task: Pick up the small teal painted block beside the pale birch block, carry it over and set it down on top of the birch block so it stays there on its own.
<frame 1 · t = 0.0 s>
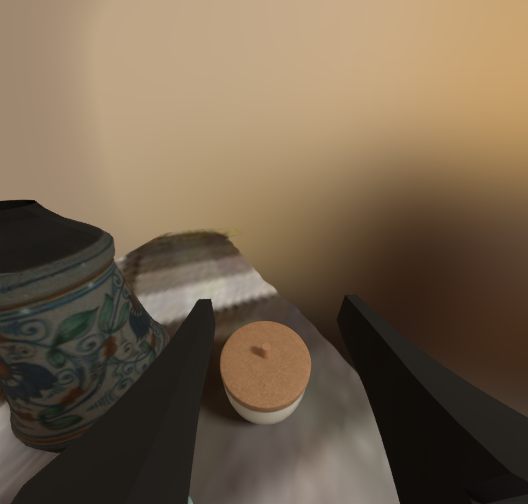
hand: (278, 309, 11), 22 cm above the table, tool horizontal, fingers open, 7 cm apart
beer stein: (100, 385, 27), on the table
lidded jar: (264, 391, 27), on the table
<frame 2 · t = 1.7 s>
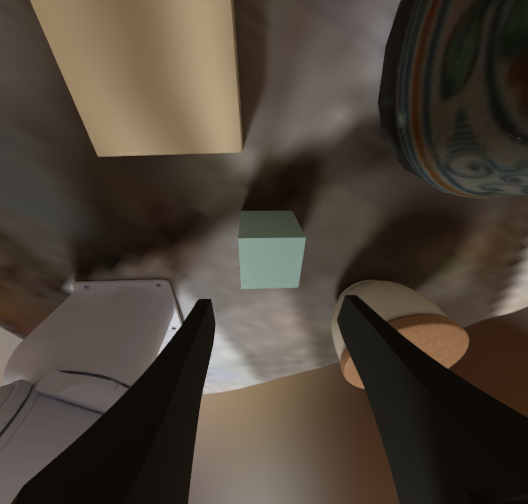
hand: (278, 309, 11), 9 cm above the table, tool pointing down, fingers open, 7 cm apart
beer stein: (504, 22, 12), on the table
teal block: (266, 233, 18), on the table
lidded jar: (361, 297, 24), on the table
birch base block: (174, 76, 12), on the table
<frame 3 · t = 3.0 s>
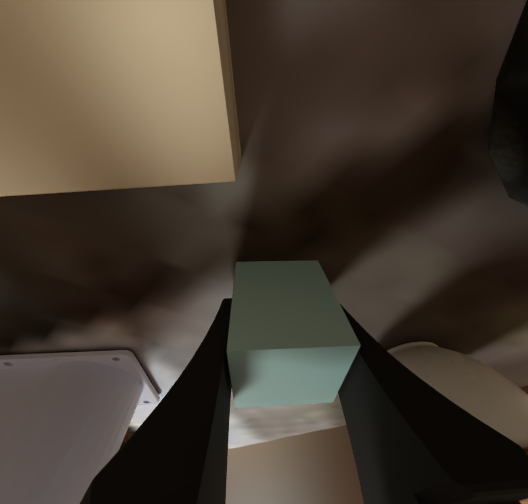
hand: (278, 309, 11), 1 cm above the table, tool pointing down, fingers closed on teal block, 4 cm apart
teal block: (275, 291, 12), on the table, touching gripper
lidded jar: (402, 359, 18), on the table
birch base block: (93, 20, 6), on the table
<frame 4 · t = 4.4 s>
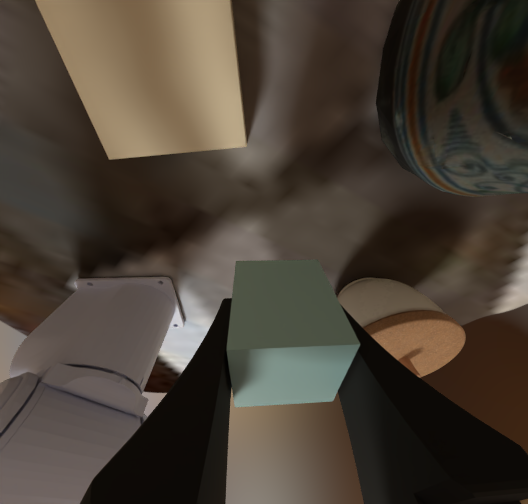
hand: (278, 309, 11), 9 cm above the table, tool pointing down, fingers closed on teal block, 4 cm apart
beer stein: (498, 24, 12), on the table
teal block: (275, 290, 12), point 8 cm above the table, touching gripper
lidded jar: (360, 294, 24), on the table
birch base block: (177, 76, 13), on the table
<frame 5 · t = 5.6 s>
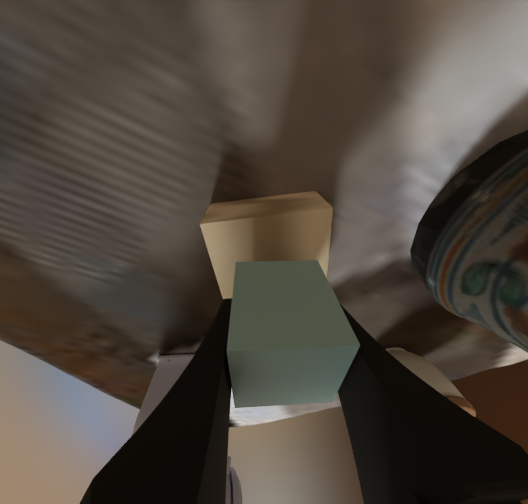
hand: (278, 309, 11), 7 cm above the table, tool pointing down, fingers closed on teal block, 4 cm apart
beer stein: (502, 208, 17), on the table
teal block: (275, 291, 12), point 6 cm above the table, touching gripper
lidded jar: (384, 357, 29), on the table
birch base block: (267, 241, 17), on the table
when the fingers open (7 cm above the table, at t = 6.1 s): teal block drops 2 cm, resting on birch base block.
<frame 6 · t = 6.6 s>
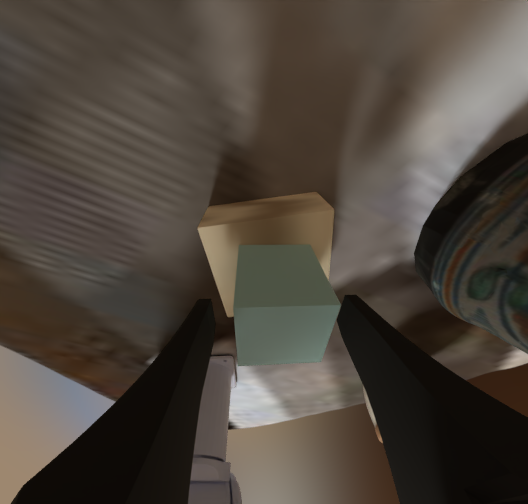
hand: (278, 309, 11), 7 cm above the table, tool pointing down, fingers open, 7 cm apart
beer stein: (508, 209, 16), on the table
teal block: (272, 272, 13), point 4 cm above the table, touching birch base block
birch base block: (267, 243, 17), on the table, touching teal block
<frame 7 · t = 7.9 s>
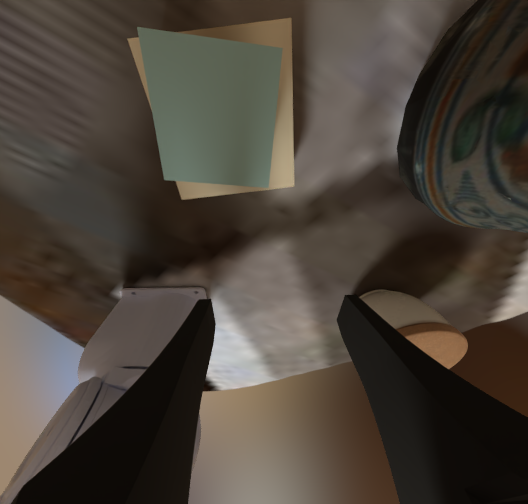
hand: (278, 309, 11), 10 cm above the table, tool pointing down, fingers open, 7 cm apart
beer stein: (501, 89, 15), on the table
teal block: (228, 123, 12), point 4 cm above the table, touching birch base block
lidded jar: (372, 304, 27), on the table
birch base block: (231, 126, 15), on the table, touching teal block
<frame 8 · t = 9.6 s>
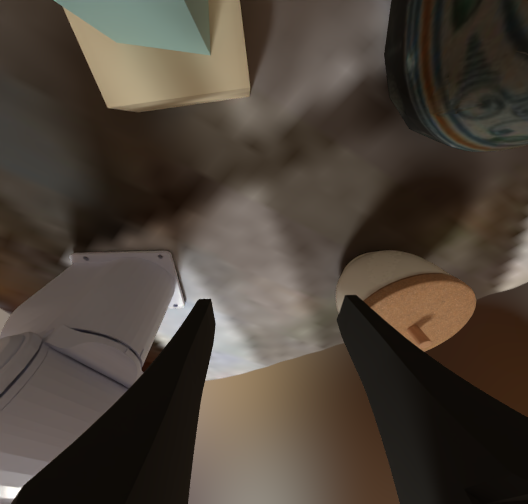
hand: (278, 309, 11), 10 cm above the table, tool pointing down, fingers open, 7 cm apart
lidded jar: (365, 271, 24), on the table
birch base block: (174, 24, 12), on the table, touching teal block
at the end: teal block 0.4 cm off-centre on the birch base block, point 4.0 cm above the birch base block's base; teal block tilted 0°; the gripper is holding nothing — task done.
